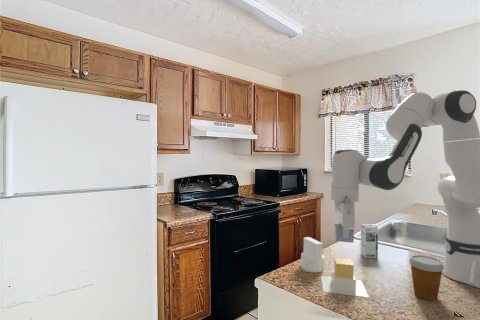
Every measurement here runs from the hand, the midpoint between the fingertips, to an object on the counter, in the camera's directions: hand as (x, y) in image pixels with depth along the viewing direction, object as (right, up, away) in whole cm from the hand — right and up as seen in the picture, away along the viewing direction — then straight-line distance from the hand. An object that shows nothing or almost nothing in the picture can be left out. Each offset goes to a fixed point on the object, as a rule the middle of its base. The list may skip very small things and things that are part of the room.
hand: (343, 234), depth 92 cm
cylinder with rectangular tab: (-7, -19, +15) cm, 25 cm away
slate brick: (0, -2, 0) cm, 2 cm away
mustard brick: (0, -14, 0) cm, 14 cm away
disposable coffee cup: (+26, -19, -4) cm, 32 cm away
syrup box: (+24, -19, +31) cm, 44 cm away
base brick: (0, -18, 0) cm, 18 cm away
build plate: (0, -19, 0) cm, 19 cm away
